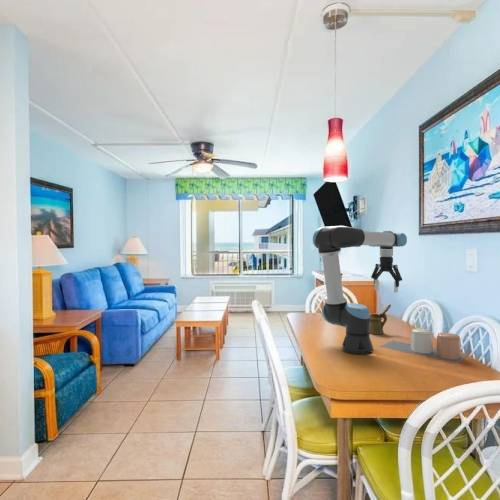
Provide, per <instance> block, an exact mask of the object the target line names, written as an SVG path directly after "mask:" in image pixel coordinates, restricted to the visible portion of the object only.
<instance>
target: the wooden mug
mask: <svg viewBox="0 0 500 500" xmlns="http://www.w3.org/2000/svg"><path fill="white" fill-rule="evenodd" d="M391 306H392V305H391V304H389V305H387V306H386V307H385V308H384V310H383V312H382V313H379V314H378V313H370V332H369V335H370V334H371V335H382V334H384V326H385V325H386V322H387V321H388V316H387V314H386V313H387V312H388V311H389V309H390V308H391ZM382 320H383V321H382Z"/></svg>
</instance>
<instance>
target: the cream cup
mask: <svg viewBox="0 0 500 500" xmlns="http://www.w3.org/2000/svg"><path fill="white" fill-rule="evenodd" d="M433 338H434V333H433V331H432V330H431V329H426V328H419V327H417V328H412V329H411V331H410V344H411V350H412V351H414V352H418V353H432V352H433V349H434V348H433V347H434V345H433V344H434V343H433V341H434V339H433Z"/></svg>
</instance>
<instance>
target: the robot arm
mask: <svg viewBox="0 0 500 500" xmlns="http://www.w3.org/2000/svg"><path fill="white" fill-rule="evenodd" d="M407 242H408V237H407V235H406V233H403V232H398V233H397V232H393V231H391V230H381V231H373V230H371V231H370V230H363V229H362V228H360V227H359V228H358V227H354V226H353V227H352V226H351V227H350V226H345V225H334V226H333V225H331V226H321V227H318V228H317V229H315V231H314V233H313V236H312V245H314V247H315V248H317V249H318V254H319V255H321V257H322V258H321V260H322V265H323V274H324V281H325V289H326V297H327V298H326V299H325V300H324V304H323V305H322V309H321V315H322V317H323V320H325V321H326V322H327V323H329V324H332V325H335V326H340V327H343V328H345V335H344V339H343V342H342V345H341V347H342V348H341V349H342V351H343V352H346V353H348V354H352V355H362V356H363V355H364V356H365V355H370V354H373V352H372V351H373V350H374V345H373V343H372V341H371V336H370V333H369V332H370V314H371V312H370V309H369V307H368V306H366V305H365V304H361V303H356V302H349V303H348V301H347V300H348V299H347V298H346V297H345V296H344V289H343V281H342V274H341V267H340V266H341V265H340V257H339V253H340V252H341V249H346V248H348V249H349V248H359V247H362V246H369V247H372V248H373V247H374V248H375V247H379V263H376V264H375V265H374V266H375V267H374V269H373V272H372V274H371V276H370V278H371V279H373V285H374V290H375V291H379V286H380V285H379V281H380V280H379V277H380V276H381V275H382V274H383V272H386V273H387V272H388V273H389V274H390V276H391V277H392V278H393V280H394V281H393V293H394V294H395V293H399V287H400V282H401V281H403V278H402V275H401V273H400V271H399V266H398V264H394V257H393V256H394V247H395V248H396V247H405V246H406V245H407Z"/></svg>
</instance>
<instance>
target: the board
mask: <svg viewBox="0 0 500 500" xmlns="http://www.w3.org/2000/svg"><path fill="white" fill-rule="evenodd" d="M379 347H381V348H385V349H390V350H394V351H397V352H404V353H408V354H411V355H412V354H413V355H417V356H422V357H426V358H431V359H435V360H440V361H445V362H449V363H455V364H459V363H460V362H461V361H463V359H465V358H466V357H468V355H467V354H462V353H460V358H459V359H446V358H441V357H439V356H438V355H437V348H433V352H432V353H418V352H414V351H412V350H411V343H407V342H403V341H402V342H401V341H397V340H391V341H388V342H386V343H384V344H381V345H380V346H379Z"/></svg>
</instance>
